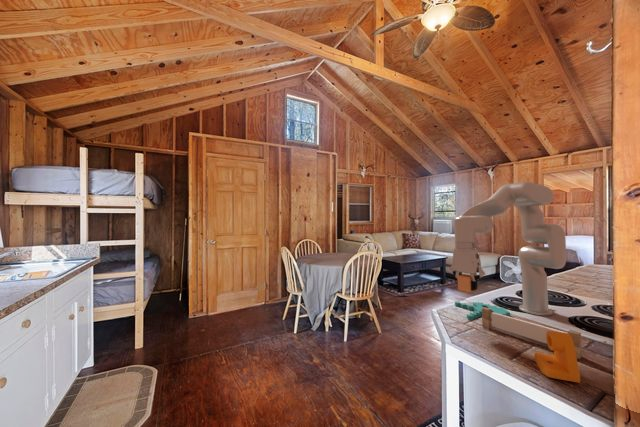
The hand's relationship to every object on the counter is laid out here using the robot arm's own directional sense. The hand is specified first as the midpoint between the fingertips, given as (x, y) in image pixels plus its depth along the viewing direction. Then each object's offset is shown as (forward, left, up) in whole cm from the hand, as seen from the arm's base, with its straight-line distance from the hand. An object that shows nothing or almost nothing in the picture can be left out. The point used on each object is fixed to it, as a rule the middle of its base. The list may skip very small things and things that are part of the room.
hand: (467, 288), depth 109 cm
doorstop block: (0, 0, -1) cm, 1 cm away
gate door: (-6, +18, -15) cm, 25 cm away
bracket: (+9, +31, -17) cm, 37 cm away
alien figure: (-23, -5, -17) cm, 29 cm away
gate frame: (-7, +18, -17) cm, 25 cm away
